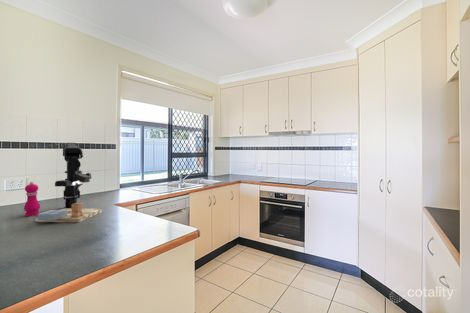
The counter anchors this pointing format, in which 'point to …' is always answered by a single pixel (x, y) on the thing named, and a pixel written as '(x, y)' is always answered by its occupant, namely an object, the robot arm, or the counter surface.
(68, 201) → the robot arm
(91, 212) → the pin board
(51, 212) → the block
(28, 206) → the pepper mill
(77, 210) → the pin
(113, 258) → the counter surface
